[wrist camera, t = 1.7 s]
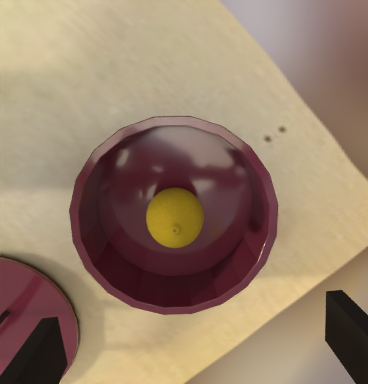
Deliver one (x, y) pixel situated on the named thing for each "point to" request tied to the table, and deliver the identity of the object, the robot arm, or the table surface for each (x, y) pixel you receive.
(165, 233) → the lemon
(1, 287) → the lid
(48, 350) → the robot arm
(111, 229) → the pot
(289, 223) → the table surface
